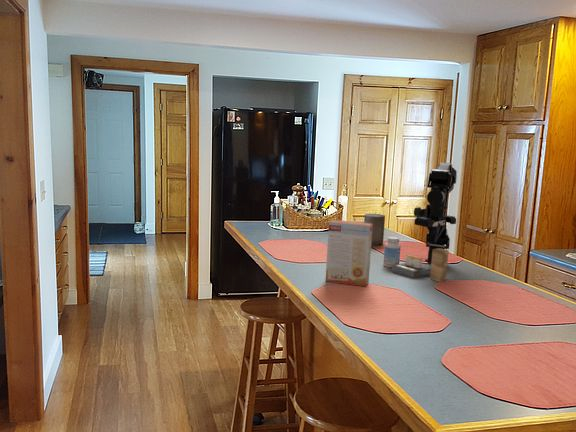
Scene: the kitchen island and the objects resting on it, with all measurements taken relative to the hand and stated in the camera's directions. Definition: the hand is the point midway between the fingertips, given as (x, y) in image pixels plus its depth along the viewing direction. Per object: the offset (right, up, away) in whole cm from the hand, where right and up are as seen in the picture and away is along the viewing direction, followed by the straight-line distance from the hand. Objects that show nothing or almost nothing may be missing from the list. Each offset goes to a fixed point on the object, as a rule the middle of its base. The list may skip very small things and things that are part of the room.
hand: (433, 242), depth 202 cm
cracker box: (-36, -13, -23) cm, 44 cm away
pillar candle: (-16, -3, +48) cm, 51 cm away
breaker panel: (-9, -11, -5) cm, 15 cm away
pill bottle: (-15, -10, +4) cm, 19 cm away
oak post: (-2, -13, -13) cm, 18 cm away
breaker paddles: (-9, -8, -6) cm, 14 cm away
